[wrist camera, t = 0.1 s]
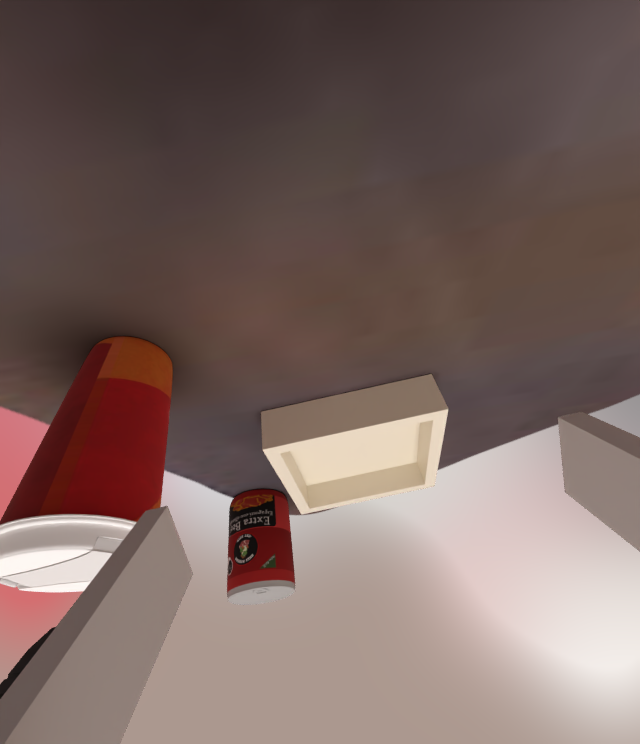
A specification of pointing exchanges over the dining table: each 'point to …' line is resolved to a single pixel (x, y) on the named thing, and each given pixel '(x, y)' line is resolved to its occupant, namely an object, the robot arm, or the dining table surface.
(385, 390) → the tray
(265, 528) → the canned food
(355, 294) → the dining table surface
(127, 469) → the paper cup
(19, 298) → the dining table surface
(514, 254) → the dining table surface
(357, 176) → the dining table surface
